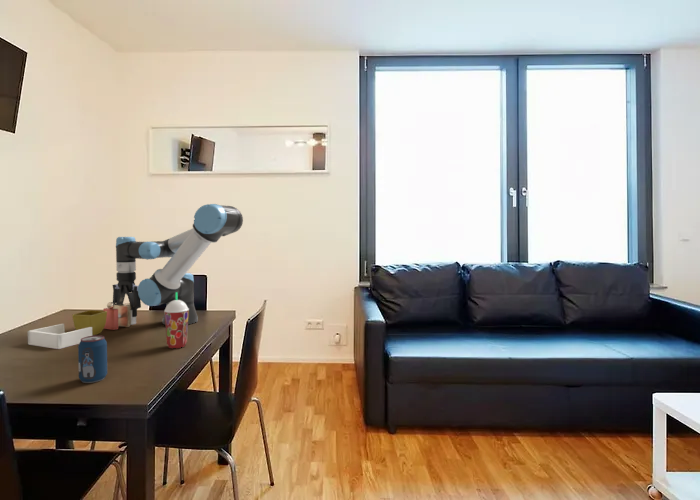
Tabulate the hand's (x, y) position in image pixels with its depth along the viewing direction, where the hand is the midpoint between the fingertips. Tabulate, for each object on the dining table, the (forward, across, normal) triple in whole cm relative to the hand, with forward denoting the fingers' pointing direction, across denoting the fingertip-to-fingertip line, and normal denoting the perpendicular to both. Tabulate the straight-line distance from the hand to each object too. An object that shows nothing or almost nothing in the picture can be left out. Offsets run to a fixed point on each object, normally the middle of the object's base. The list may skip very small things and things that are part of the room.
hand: (126, 323), depth 183 cm
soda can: (+1, +46, -53) cm, 70 cm away
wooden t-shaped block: (+1, 0, -3) cm, 3 cm away
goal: (+1, 0, -29) cm, 29 cm away
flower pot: (+1, 0, -18) cm, 18 cm away
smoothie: (+1, +44, -18) cm, 48 cm away
